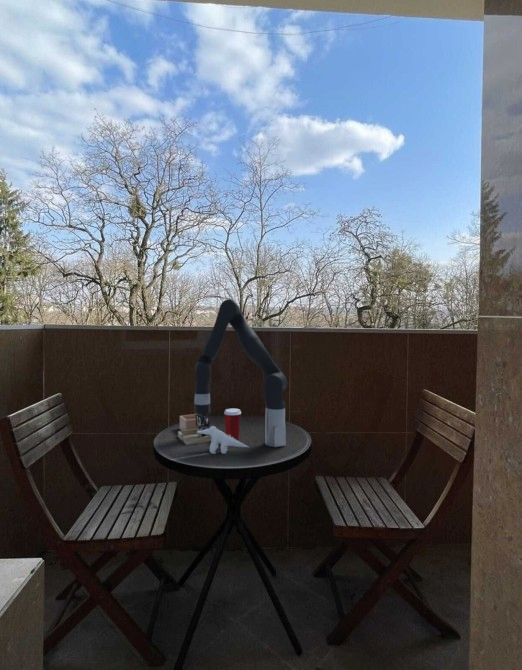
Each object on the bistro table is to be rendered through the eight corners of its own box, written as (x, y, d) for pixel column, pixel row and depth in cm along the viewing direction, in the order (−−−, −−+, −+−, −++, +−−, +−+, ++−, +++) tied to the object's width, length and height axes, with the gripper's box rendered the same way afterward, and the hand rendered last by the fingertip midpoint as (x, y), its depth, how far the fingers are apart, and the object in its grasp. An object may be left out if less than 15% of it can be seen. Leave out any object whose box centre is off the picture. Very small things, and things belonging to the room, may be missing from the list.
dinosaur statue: (197, 446, 161) (199, 422, 161) (249, 454, 159) (252, 429, 159) (192, 452, 155) (195, 426, 154) (247, 459, 152) (250, 434, 152)
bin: (205, 433, 185) (205, 418, 185) (185, 436, 180) (185, 420, 180) (198, 427, 194) (199, 413, 194) (179, 430, 189) (179, 415, 189)
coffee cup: (243, 439, 175) (243, 408, 175) (237, 444, 167) (238, 412, 167) (227, 437, 177) (227, 407, 177) (221, 443, 169) (221, 411, 169)
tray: (215, 442, 170) (215, 435, 170) (186, 447, 163) (186, 439, 163) (204, 434, 182) (204, 427, 182) (177, 438, 176) (177, 431, 176)
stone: (208, 438, 173) (208, 429, 173) (199, 439, 171) (199, 431, 171) (204, 435, 177) (204, 427, 177) (196, 436, 175) (196, 428, 175)
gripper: (215, 404, 169) (214, 440, 170) (204, 399, 182) (204, 432, 182) (199, 406, 166) (199, 442, 166) (190, 400, 178) (190, 434, 179)
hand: (202, 437), depth 174 cm, fingers closed on stone, 4 cm apart
